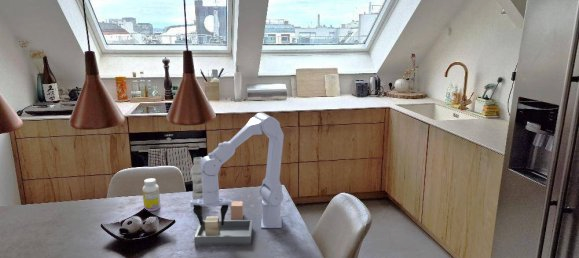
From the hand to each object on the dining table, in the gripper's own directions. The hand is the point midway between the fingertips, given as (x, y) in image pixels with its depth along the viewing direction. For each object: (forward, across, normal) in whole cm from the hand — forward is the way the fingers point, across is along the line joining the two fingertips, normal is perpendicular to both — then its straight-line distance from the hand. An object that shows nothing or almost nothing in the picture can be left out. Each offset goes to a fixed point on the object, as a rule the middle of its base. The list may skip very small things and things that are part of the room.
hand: (212, 224), depth 148 cm
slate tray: (+5, +4, 0) cm, 7 cm away
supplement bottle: (+5, -30, +25) cm, 39 cm away
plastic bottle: (+5, -10, +32) cm, 34 cm away
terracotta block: (+5, +8, +16) cm, 18 cm away
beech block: (+4, 0, 0) cm, 4 cm away
